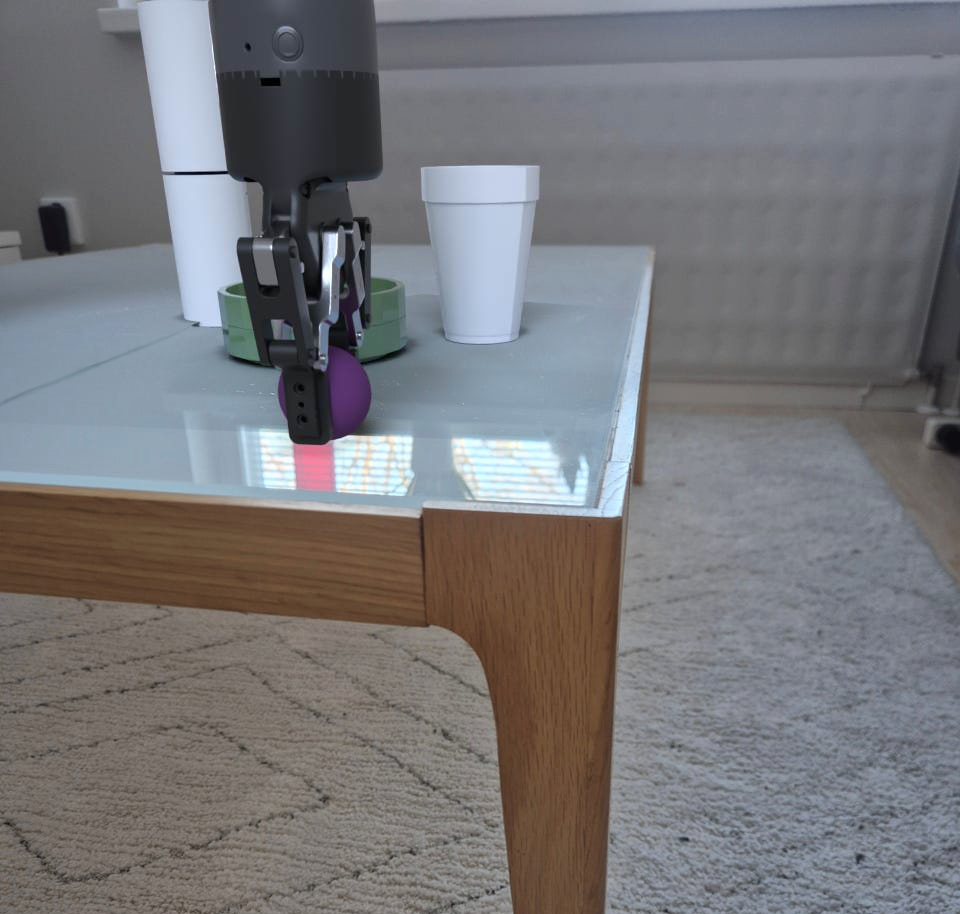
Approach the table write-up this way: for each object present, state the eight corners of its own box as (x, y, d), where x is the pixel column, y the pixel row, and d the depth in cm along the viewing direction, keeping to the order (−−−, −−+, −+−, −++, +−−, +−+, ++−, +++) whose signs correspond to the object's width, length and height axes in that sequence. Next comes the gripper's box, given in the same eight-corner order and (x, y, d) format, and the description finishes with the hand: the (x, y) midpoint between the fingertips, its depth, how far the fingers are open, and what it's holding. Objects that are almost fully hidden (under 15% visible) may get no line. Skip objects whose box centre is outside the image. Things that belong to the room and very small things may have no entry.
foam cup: (465, 324, 86) (462, 165, 80) (555, 332, 82) (560, 165, 76) (405, 341, 79) (398, 168, 73) (501, 351, 75) (501, 168, 69)
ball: (269, 449, 50) (258, 353, 48) (300, 425, 55) (291, 336, 52) (359, 453, 49) (353, 356, 47) (384, 428, 54) (379, 338, 51)
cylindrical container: (170, 325, 87) (118, 2, 75) (207, 313, 93) (165, 12, 82) (240, 327, 86) (199, -2, 74) (274, 315, 92) (240, 8, 80)
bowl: (196, 369, 70) (186, 298, 68) (266, 334, 82) (259, 274, 80) (381, 373, 68) (376, 301, 66) (424, 337, 80) (421, 275, 78)
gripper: (275, 77, 50) (305, 395, 58) (149, 57, 38) (209, 465, 46) (411, 75, 49) (423, 399, 57) (327, 53, 37) (357, 472, 45)
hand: (327, 427), depth 52 cm, fingers closed on ball, 5 cm apart
